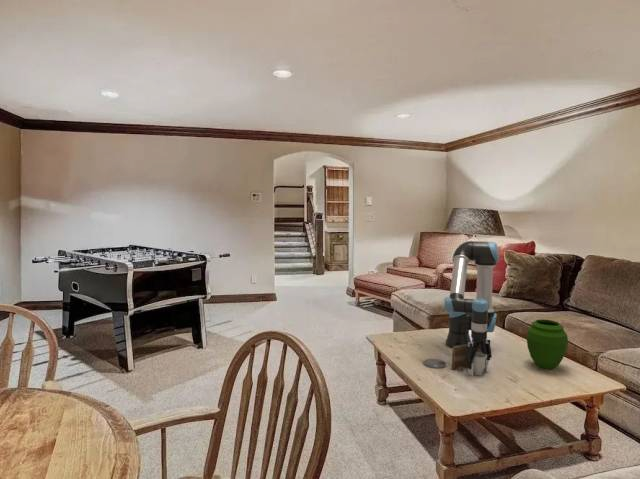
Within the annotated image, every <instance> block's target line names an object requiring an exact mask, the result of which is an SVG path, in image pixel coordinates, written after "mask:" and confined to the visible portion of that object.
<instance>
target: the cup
mask: <svg viewBox="0 0 640 479" xmlns="http://www.w3.org/2000/svg"><path fill="white" fill-rule="evenodd" d="M486 360H487V355H486V354H483V353H481V352H476V354H475V357H474V360H473V362H472V363H474V368H473V376H474V375H475V376H479V377H480V376H481V377H482V376H483V375H484V373H485V372H484V371H485V367H486Z"/></svg>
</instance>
